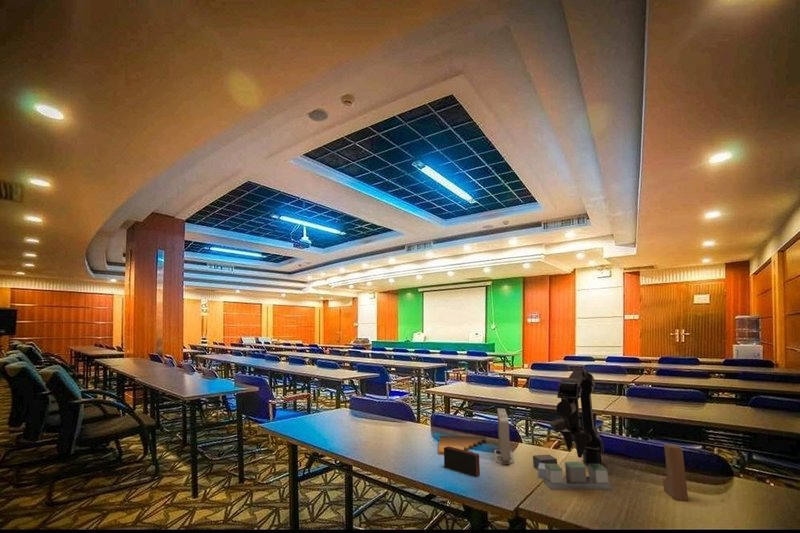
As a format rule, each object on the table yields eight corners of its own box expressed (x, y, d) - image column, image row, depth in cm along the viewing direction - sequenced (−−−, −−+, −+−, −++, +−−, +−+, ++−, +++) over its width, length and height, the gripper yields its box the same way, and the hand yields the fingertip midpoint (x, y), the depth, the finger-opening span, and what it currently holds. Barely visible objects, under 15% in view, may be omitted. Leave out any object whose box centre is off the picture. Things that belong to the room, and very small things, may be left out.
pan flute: (485, 442, 208) (439, 441, 210) (485, 435, 208) (439, 434, 211) (490, 457, 183) (438, 455, 186) (490, 450, 184) (438, 448, 187)
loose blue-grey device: (552, 474, 161) (551, 464, 162) (551, 480, 155) (550, 469, 156) (539, 472, 163) (539, 462, 164) (538, 478, 157) (537, 468, 158)
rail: (601, 481, 153) (599, 463, 154) (610, 489, 146) (609, 469, 147) (544, 482, 153) (543, 463, 154) (550, 489, 146) (549, 469, 147)
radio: (480, 475, 160) (479, 437, 162) (476, 477, 158) (475, 439, 160) (444, 464, 172) (444, 430, 175) (440, 466, 170) (440, 431, 173)
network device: (515, 466, 170) (513, 419, 173) (495, 465, 171) (493, 418, 175) (511, 449, 194) (509, 408, 198) (493, 448, 196) (491, 407, 199)
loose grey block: (550, 466, 171) (549, 454, 171) (557, 471, 165) (556, 459, 166) (533, 467, 169) (532, 455, 170) (540, 472, 163) (540, 460, 164)
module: (581, 477, 152) (579, 461, 153) (586, 482, 147) (585, 465, 148) (566, 477, 152) (564, 461, 153) (571, 482, 147) (569, 465, 148)
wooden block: (663, 489, 145) (658, 440, 148) (676, 491, 144) (671, 440, 147) (674, 500, 136) (668, 446, 139) (688, 501, 135) (682, 447, 138)
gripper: (542, 407, 163) (545, 446, 160) (561, 417, 144) (564, 461, 142) (568, 407, 163) (571, 446, 160) (590, 417, 144) (593, 461, 142)
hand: (574, 453), depth 151 cm, fingers open, 9 cm apart
